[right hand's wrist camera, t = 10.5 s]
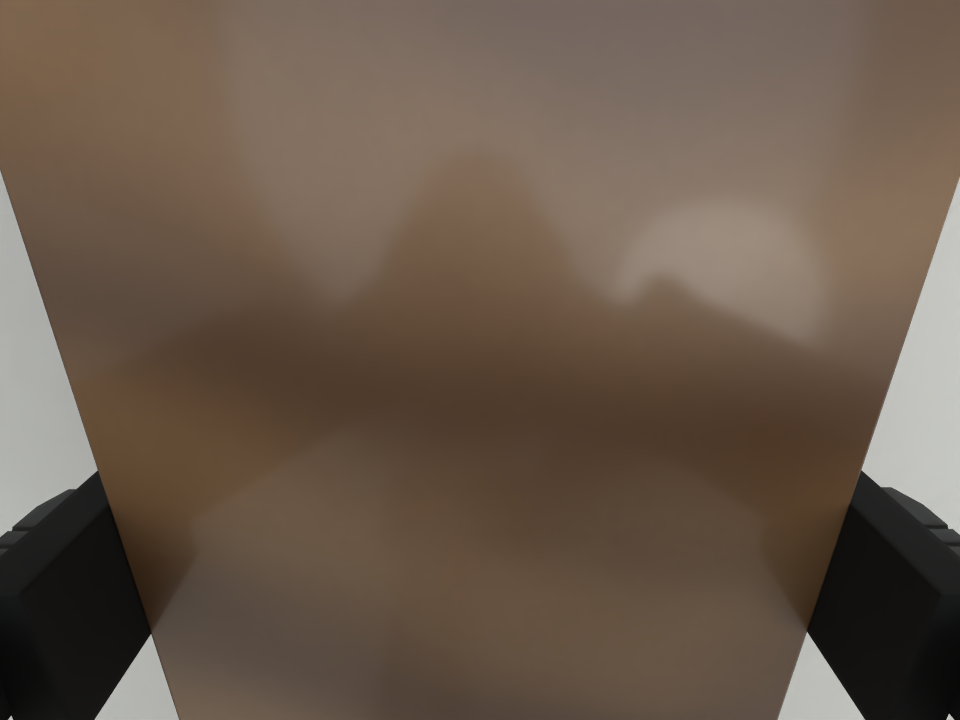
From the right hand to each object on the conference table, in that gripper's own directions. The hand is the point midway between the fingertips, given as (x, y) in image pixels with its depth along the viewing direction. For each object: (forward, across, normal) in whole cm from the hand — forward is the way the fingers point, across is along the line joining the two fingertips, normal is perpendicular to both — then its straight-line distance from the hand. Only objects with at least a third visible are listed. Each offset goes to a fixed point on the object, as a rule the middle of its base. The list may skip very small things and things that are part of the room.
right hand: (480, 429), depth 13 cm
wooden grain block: (+4, 0, -4) cm, 6 cm away
